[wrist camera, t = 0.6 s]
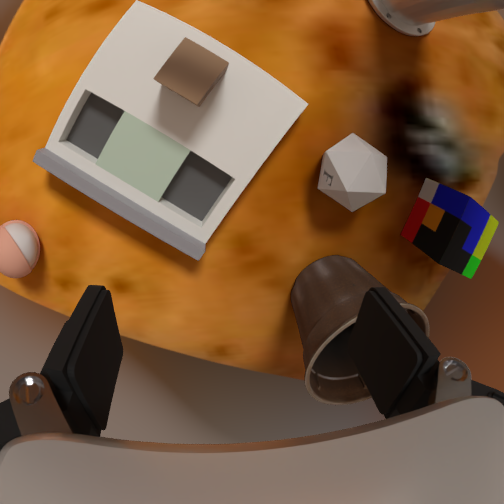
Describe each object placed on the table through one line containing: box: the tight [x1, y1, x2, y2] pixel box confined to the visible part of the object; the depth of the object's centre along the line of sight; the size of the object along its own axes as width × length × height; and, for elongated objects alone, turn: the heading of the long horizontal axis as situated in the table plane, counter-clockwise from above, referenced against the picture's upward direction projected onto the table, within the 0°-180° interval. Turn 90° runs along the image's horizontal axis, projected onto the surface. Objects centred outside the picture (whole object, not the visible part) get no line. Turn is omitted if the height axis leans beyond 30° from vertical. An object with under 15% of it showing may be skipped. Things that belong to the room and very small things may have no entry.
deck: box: [33, 0, 308, 261], centre depth 29 cm, size 22×24×4 cm
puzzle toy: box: [400, 178, 499, 278], centre depth 37 cm, size 10×10×10 cm
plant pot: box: [291, 255, 429, 405], centre depth 37 cm, size 16×16×16 cm
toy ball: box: [0, 220, 40, 278], centre depth 30 cm, size 8×8×8 cm
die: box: [317, 133, 387, 212], centre depth 32 cm, size 8×9×10 cm
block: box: [153, 37, 229, 107], centre depth 24 cm, size 5×5×5 cm
